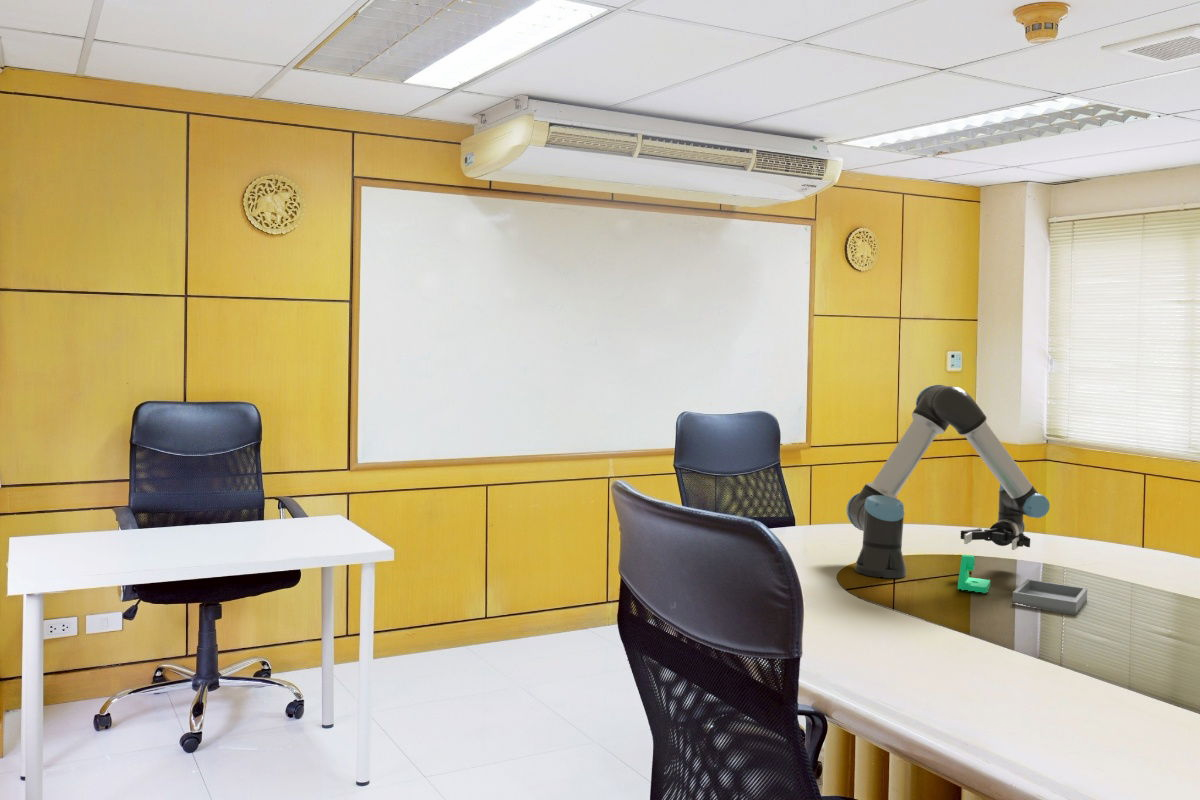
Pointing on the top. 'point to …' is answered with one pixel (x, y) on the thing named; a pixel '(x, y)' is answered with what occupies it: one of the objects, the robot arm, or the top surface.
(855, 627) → the top surface
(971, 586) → the camera mount
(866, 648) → the top surface
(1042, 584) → the tray
